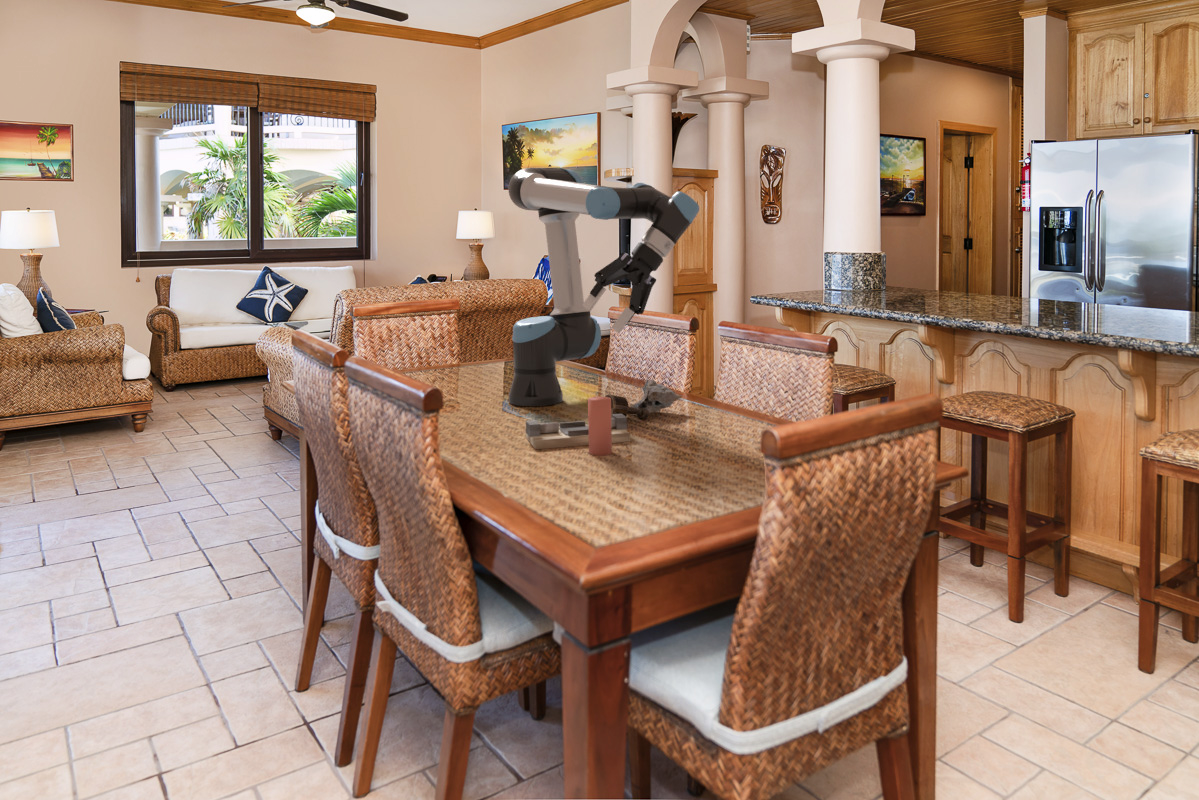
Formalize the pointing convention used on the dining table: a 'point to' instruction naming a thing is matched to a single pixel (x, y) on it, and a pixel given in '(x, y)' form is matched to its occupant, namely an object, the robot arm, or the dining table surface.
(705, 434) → the dining table surface
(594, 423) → the red tall block
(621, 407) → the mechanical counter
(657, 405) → the mineral specimen
